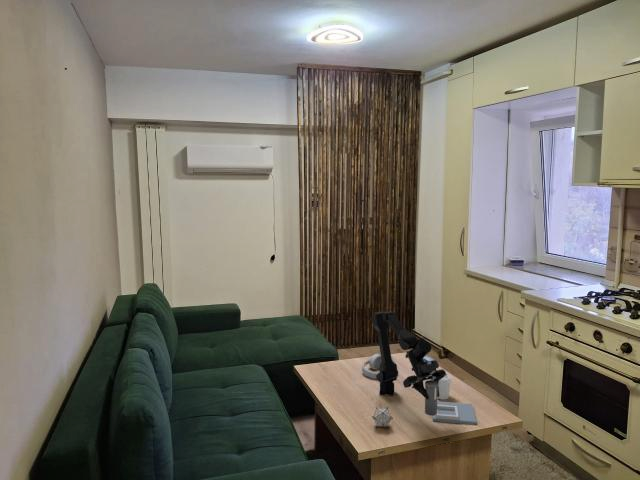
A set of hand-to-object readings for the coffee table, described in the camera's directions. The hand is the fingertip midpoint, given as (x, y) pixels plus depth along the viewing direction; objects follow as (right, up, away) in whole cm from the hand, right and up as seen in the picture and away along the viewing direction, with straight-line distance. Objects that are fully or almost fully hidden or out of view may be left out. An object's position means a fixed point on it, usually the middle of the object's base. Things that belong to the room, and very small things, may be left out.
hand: (433, 397), depth 194 cm
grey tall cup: (0, -7, +2) cm, 7 cm away
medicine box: (+10, -6, +56) cm, 58 cm away
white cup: (+11, -10, +30) cm, 33 cm away
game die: (-21, -14, +4) cm, 25 cm away
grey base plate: (+12, -11, +14) cm, 22 cm away
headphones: (-14, -7, +59) cm, 61 cm away
